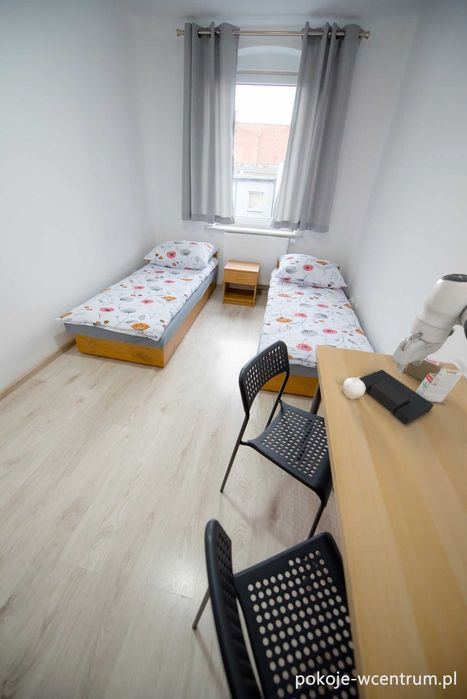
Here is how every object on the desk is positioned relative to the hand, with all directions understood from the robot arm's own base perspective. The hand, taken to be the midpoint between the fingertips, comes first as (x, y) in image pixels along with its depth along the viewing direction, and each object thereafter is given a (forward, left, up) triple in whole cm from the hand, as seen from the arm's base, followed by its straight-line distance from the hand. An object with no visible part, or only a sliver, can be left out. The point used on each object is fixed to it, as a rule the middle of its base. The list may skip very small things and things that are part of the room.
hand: (407, 368), depth 87 cm
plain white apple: (+8, +10, -15) cm, 19 cm away
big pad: (+1, -3, -15) cm, 15 cm away
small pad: (+1, +1, -15) cm, 15 cm away
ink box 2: (-5, -16, -15) cm, 22 cm away
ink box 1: (+4, -25, -15) cm, 29 cm away
